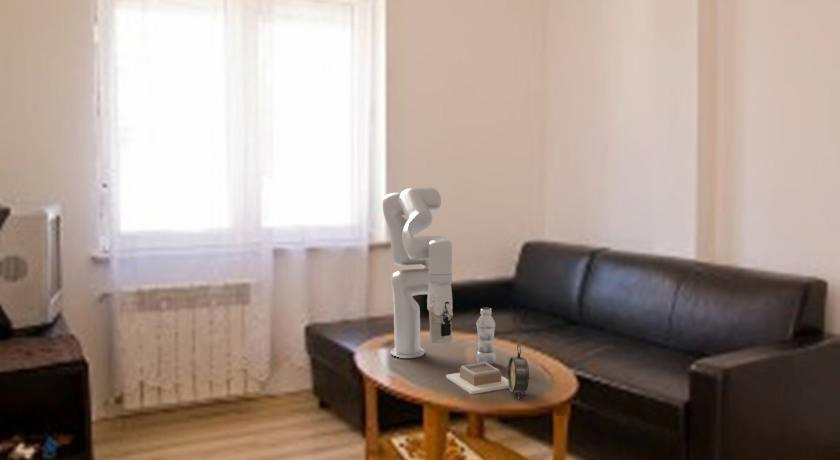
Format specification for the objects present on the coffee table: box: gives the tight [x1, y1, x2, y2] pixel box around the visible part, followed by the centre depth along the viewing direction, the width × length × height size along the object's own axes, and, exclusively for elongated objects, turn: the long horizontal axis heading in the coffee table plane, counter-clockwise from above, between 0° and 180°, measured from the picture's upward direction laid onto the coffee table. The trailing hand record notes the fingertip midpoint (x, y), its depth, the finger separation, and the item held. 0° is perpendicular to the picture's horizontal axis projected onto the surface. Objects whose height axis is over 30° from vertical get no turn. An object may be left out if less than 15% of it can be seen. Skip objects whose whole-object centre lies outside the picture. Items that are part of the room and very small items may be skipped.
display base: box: [445, 362, 509, 395], centre depth 246 cm, size 18×16×5 cm
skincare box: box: [428, 306, 453, 345], centre depth 241 cm, size 6×4×12 cm
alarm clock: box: [507, 343, 530, 398], centre depth 232 cm, size 11×5×16 cm, turn 5°
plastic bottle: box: [476, 307, 497, 366], centre depth 264 cm, size 6×7×20 cm
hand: (440, 332), depth 241 cm, fingers closed on skincare box, 7 cm apart
